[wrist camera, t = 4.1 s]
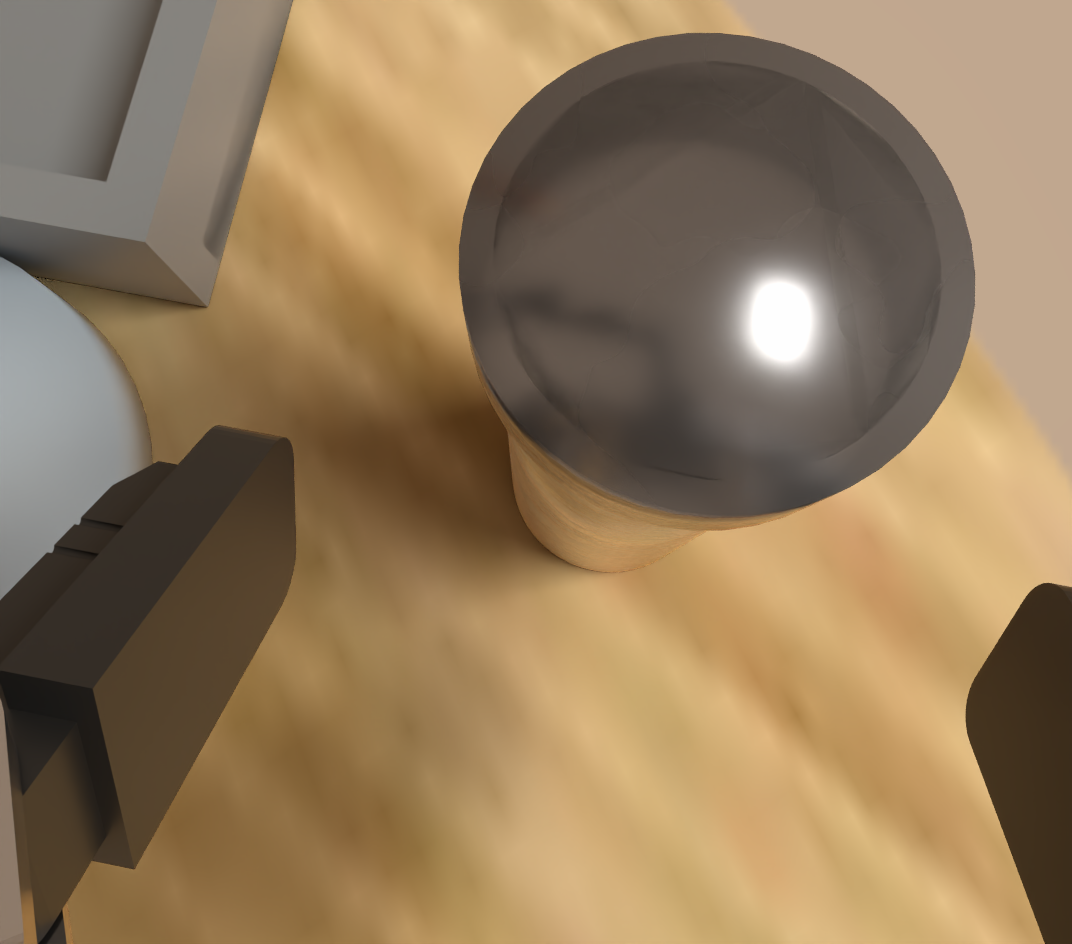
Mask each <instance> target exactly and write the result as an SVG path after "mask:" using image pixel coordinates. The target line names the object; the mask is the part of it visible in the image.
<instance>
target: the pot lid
mask: <svg viewBox="0 0 1072 944" xmlns="http://www.w3.org/2000/svg"><path fill="white" fill-rule="evenodd" d="M152 464H153V463H152V446H151V439H150V434H149V429H148V424H147V419H146V414H145V411H144V408H143V405H142V402H141V400H140V397H139V394H138V391H137V388H136V385H135V384H134V382H133V380H132V378H131V376H130V374H129V372H128V370H127V368H126V366H125V365H124V363H123V361H122V359H121V358H120V356H119V355H118V354H117V352H116V351H115V349H114V348H113V347H112V345H111V344H110V343H109V341H108V340H107V338H106V337H105V336H104V335H103V334H102V333H101V332H100V331H99V330H98V329H97V328H96V327H95V326H94V325H93V324H92V323H91V322H90V321H89V320H88V318H87V317H86V316H84V315H83V314H82V313H81V312H79V311H78V310H77V309H75V308H74V307H73V306H71V305H70V304H69V303H67V302H66V301H65V300H64V299H62V298H61V297H60V296H58V295H57V294H55V293H54V292H53V291H51V290H50V289H49V288H47V287H46V286H44V285H43V284H42V283H40V282H39V281H38V280H36V279H35V278H34V277H32V276H31V275H29V274H28V273H27V272H25V271H24V270H23V269H21V268H20V267H18V266H16V265H14V264H13V263H11V262H9V261H7V260H5V259H4V258H2V257H0V600H1V599H2V598H3V597H4V596H5V595H6V594H7V593H8V592H9V591H10V590H11V589H12V588H13V587H14V585H15V584H16V583H17V582H18V581H19V580H20V579H21V578H22V577H23V576H24V575H25V574H26V573H27V572H28V571H29V570H30V569H31V568H32V567H33V566H34V565H35V564H36V563H37V562H38V561H39V560H40V559H41V558H42V557H43V556H44V555H45V554H46V553H47V552H49V553H52V552H53V550H54V544H55V543H56V542H57V541H58V540H59V539H60V538H61V537H62V536H63V535H64V534H65V533H66V532H67V531H68V530H69V529H70V528H71V527H72V526H73V525H74V524H76V525H79V524H80V521H81V517H82V516H83V515H84V514H85V513H86V512H87V511H88V510H89V509H90V508H91V507H92V506H93V505H94V504H95V502H96V501H97V500H98V499H99V498H100V497H101V496H102V495H103V494H104V493H105V492H106V491H107V490H108V489H109V488H110V487H111V486H112V485H114V484H116V483H118V482H119V481H121V480H123V479H125V478H127V477H129V476H131V475H133V474H135V473H137V472H139V471H141V470H143V469H144V468H146V467H148V466H150V465H152Z"/></svg>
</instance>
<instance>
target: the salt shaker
mask: <svg viewBox="0 0 1072 944" xmlns="http://www.w3.org/2000/svg"><path fill="white" fill-rule="evenodd" d="M459 282H460V289H461V296H462V304H463V311H464V316H465V321H466V326H467V331H468V336H469V341H470V347H471V351H472V354H473V358H474V361H475V365H476V368H477V372H478V376H479V378H480V380H481V383H482V385H483V387H484V390H485V392H486V394H487V397H488V399H489V401H490V403H491V405H492V407H493V408H494V410H495V412H496V413H497V415H498V417H499V418H500V420H501V422H502V423H503V425H504V427H505V428H506V430H507V431H508V440H509V451H510V461H511V472H512V482H513V489H514V495H515V499H516V502H517V506H518V509H519V511H520V513H521V516H522V518H523V520H524V521H525V523H526V525H527V526H528V528H529V530H530V531H531V532H532V533H533V535H534V536H535V537H536V538H537V540H538V541H539V542H540V543H541V544H542V545H543V546H545V547H546V548H547V549H548V550H549V551H551V552H552V553H553V554H555V555H556V556H557V557H559V558H561V559H563V560H565V561H566V562H568V563H571V564H573V565H576V566H578V567H581V568H585V569H588V570H592V571H600V572H623V571H630V570H634V569H638V568H641V567H645V566H647V565H649V564H652V563H654V562H656V561H658V560H659V559H661V558H663V557H664V556H666V555H668V554H669V553H671V552H673V551H674V550H676V549H678V548H679V547H681V546H683V545H684V544H686V543H688V542H689V541H691V540H693V539H694V538H696V537H698V536H700V535H701V534H703V533H705V532H706V531H708V530H729V529H736V528H742V527H749V526H755V525H759V524H762V523H766V522H769V521H773V520H776V519H780V518H783V517H786V516H788V515H790V514H793V513H795V512H797V511H799V510H802V509H804V508H806V507H809V506H811V505H813V504H815V503H817V502H819V501H822V500H824V499H826V498H828V497H830V496H832V495H834V494H836V493H839V492H841V491H843V490H845V489H847V488H849V487H851V486H853V485H854V484H856V483H858V482H859V481H861V480H863V479H864V478H866V477H867V476H869V475H871V474H872V473H874V472H876V471H877V470H879V469H880V468H882V467H883V466H884V465H885V464H886V463H888V462H889V461H890V460H891V459H892V458H894V457H895V456H896V455H897V454H898V453H900V452H901V451H902V450H903V449H905V448H906V447H907V446H908V444H909V443H910V442H911V441H912V440H913V439H914V438H915V437H916V436H917V435H918V433H919V432H920V431H921V430H922V429H923V428H924V427H925V426H926V425H927V424H928V422H929V421H930V419H931V418H932V416H933V415H934V413H935V412H936V410H937V409H938V407H939V406H940V404H941V403H942V401H943V400H944V398H945V397H946V395H947V393H948V391H949V389H950V387H951V385H952V383H953V381H954V379H955V376H956V374H957V372H958V370H959V368H960V366H961V362H962V359H963V356H964V353H965V350H966V346H967V343H968V340H969V337H970V331H971V324H972V318H973V312H974V305H975V270H974V261H973V252H972V244H971V239H970V236H969V232H968V228H967V224H966V221H965V217H964V213H963V210H962V208H961V205H960V203H959V201H958V198H957V195H956V193H955V191H954V188H953V186H952V183H951V181H950V180H949V178H948V176H947V174H946V173H945V171H944V169H943V167H942V166H941V164H940V162H939V160H938V159H937V157H936V155H935V154H934V152H933V151H932V150H931V148H930V147H929V146H928V144H927V143H926V142H925V140H924V139H923V138H922V136H921V135H920V134H919V133H918V131H917V130H916V129H915V128H914V127H913V126H912V124H910V122H908V121H907V119H906V118H905V117H904V116H903V115H902V114H901V113H900V112H899V111H898V110H897V109H896V108H895V107H894V106H893V105H892V104H891V103H889V102H888V101H887V100H886V99H885V98H883V97H882V96H880V95H879V94H878V93H877V92H876V91H874V90H873V89H872V88H871V87H870V86H868V85H867V84H865V83H864V82H862V81H861V80H859V79H857V78H856V77H854V76H853V75H851V74H850V73H848V72H846V71H845V70H843V69H842V68H840V67H838V66H836V65H834V64H831V63H829V62H827V61H825V60H823V59H821V58H819V57H817V56H815V55H813V54H810V53H807V52H804V51H801V50H799V49H796V48H793V47H790V46H787V45H785V44H781V43H776V42H772V41H768V40H764V39H759V38H755V37H750V36H741V35H732V34H723V33H686V34H678V35H670V36H662V37H655V38H651V39H647V40H643V41H639V42H634V43H630V44H626V45H623V46H621V47H618V48H615V49H613V50H610V51H607V52H605V53H602V54H600V55H597V56H595V57H593V58H591V59H589V60H587V61H585V62H583V63H582V64H580V65H578V66H576V67H574V68H572V69H570V70H568V71H567V72H566V73H564V74H563V75H561V76H560V77H558V78H557V79H556V80H554V81H553V82H551V83H550V84H548V85H547V86H546V87H544V88H543V89H542V90H541V91H540V92H539V93H537V94H536V95H535V96H534V97H533V98H532V99H531V100H530V101H529V102H528V103H527V104H525V105H524V106H523V107H522V108H521V109H520V110H519V112H518V113H517V114H516V115H515V116H514V118H513V119H512V120H511V121H510V122H509V123H508V125H507V126H506V127H505V128H504V129H503V131H502V132H501V133H500V135H499V137H498V138H497V140H496V141H495V143H494V144H493V146H492V148H491V149H490V151H489V152H488V154H487V156H486V157H485V159H484V161H483V163H482V166H481V168H480V170H479V172H478V175H477V177H476V179H475V181H474V183H473V186H472V189H471V192H470V196H469V199H468V202H467V206H466V209H465V213H464V217H463V224H462V230H461V237H460V244H459Z"/></svg>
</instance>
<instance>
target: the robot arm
mask: <svg viewBox="0 0 1072 944" xmlns="http://www.w3.org/2000/svg"><path fill="white" fill-rule="evenodd" d="M295 558H296V524H295V488H294V457H293V449H292V445H291V443H290V441H289V440H288V439H287V438H285V437H279V436H274V435H269V434H263V433H258V432H253V431H248V430H242V429H237V428H232V427H226V426H221V425H218V426H214V427H213V428H211V429H210V430H209V431H208V432H207V433H206V434H205V435H204V437H203V438H202V439H201V440H200V441H199V442H198V443H197V444H196V446H195V447H194V448H193V449H192V450H191V451H190V452H189V453H188V454H187V456H186V457H185V458H184V459H183V460H182V461H181V462H180V463H179V465H175V464H170V463H165V462H159V461H158V462H156V463H154V464H152V465H150V466H148V467H146V468H144V469H143V470H141V471H139V472H137V473H135V474H133V475H131V476H129V477H127V478H125V479H123V480H121V481H119V482H118V483H116V484H114V485H112V486H111V487H110V488H109V489H108V490H107V491H106V492H105V493H104V494H103V495H102V496H101V497H100V498H99V499H98V500H97V501H96V502H95V504H94V505H93V506H92V507H91V508H90V509H89V510H88V511H87V512H86V513H85V514H84V515H83V516H82V517H81V521H80V524H79V525H76V524H74V525H73V526H72V527H71V528H70V529H69V530H68V531H67V532H66V533H65V534H64V535H63V536H62V537H61V538H60V539H59V540H58V541H57V542H56V543H55V544H54V550H53V552H52V553H49V552H47V553H46V554H45V555H44V556H43V557H42V558H41V559H40V560H39V561H38V562H37V563H36V564H35V565H34V566H33V567H32V568H31V569H30V570H29V571H28V572H27V573H26V574H25V575H24V576H23V577H22V578H21V579H20V580H19V581H18V582H17V583H16V584H15V585H14V587H13V588H12V589H11V590H10V591H9V592H8V593H7V594H6V595H5V596H4V597H3V598H2V599H1V600H0V944H73V939H72V932H71V924H70V916H69V910H68V906H67V900H68V899H69V897H70V896H71V894H72V892H73V891H74V889H75V887H76V886H77V884H78V882H79V881H80V879H81V877H82V876H83V874H84V873H85V871H86V869H87V868H88V866H89V864H90V863H91V861H96V862H101V863H106V864H111V865H116V866H121V867H126V868H131V869H135V868H136V866H137V864H138V862H139V860H140V859H141V857H142V855H143V853H144V851H145V850H146V848H147V846H148V844H149V842H150V841H151V839H152V837H153V835H154V833H155V832H156V830H157V828H158V826H159V824H160V823H161V821H162V819H163V817H164V815H165V814H166V812H167V810H168V808H169V807H170V805H171V803H172V801H173V799H174V798H175V796H176V794H177V792H178V790H179V789H180V787H181V785H182V783H183V781H184V780H185V778H186V776H187V774H188V772H189V771H190V769H191V767H192V765H193V763H194V762H195V760H196V758H197V756H198V755H199V753H200V751H201V749H202V747H203V746H204V744H205V742H206V740H207V738H208V737H209V735H210V733H211V731H212V729H213V728H214V726H215V724H216V722H217V720H218V719H219V717H220V715H221V713H222V711H223V710H224V708H225V706H226V704H227V702H228V701H229V699H230V697H231V695H232V694H233V692H234V690H235V688H236V686H237V685H238V683H239V681H240V679H241V677H242V676H243V674H244V672H245V670H246V668H247V667H248V665H249V663H250V661H251V659H252V658H253V656H254V654H255V652H256V650H257V649H258V647H259V645H260V643H261V642H262V640H263V638H264V636H265V634H266V633H267V631H268V629H269V627H270V625H271V624H272V622H273V620H274V618H275V616H276V615H277V613H278V611H279V609H280V607H281V606H282V604H283V602H284V599H285V597H286V595H287V592H288V589H289V586H290V583H291V579H292V575H293V571H294V565H295ZM966 728H967V734H968V737H969V741H970V744H971V746H972V749H973V752H974V754H975V757H976V760H977V762H978V765H979V768H980V770H981V773H982V776H983V779H984V781H985V784H986V787H987V789H988V792H989V795H990V797H991V800H992V803H993V805H994V808H995V811H996V813H997V816H998V819H999V821H1000V824H1001V827H1002V829H1003V832H1004V835H1005V838H1006V840H1007V843H1008V846H1009V848H1010V851H1011V854H1012V856H1013V859H1014V862H1015V864H1016V867H1017V870H1018V872H1019V875H1020V878H1021V880H1022V883H1023V886H1024V889H1025V891H1026V894H1027V897H1028V899H1029V902H1030V905H1031V907H1032V910H1033V913H1034V915H1035V918H1036V921H1037V923H1038V926H1039V929H1040V931H1041V934H1042V937H1043V939H1044V942H1045V944H1072V587H1068V586H1062V585H1057V584H1052V583H1043V584H1041V585H1038V586H1037V587H1035V588H1034V589H1033V590H1032V591H1031V592H1030V593H1029V594H1028V595H1027V596H1026V598H1025V599H1024V601H1023V602H1022V604H1021V605H1020V607H1019V609H1018V610H1017V612H1016V613H1015V615H1014V617H1013V618H1012V620H1011V621H1010V623H1009V625H1008V626H1007V628H1006V629H1005V631H1004V633H1003V634H1002V636H1001V637H1000V639H999V641H998V642H997V644H996V645H995V647H994V649H993V650H992V652H991V653H990V655H989V657H988V658H987V660H986V661H985V663H984V664H983V666H982V668H981V669H980V671H979V672H978V674H977V676H976V677H975V679H974V681H973V683H972V685H971V688H970V691H969V694H968V698H967V704H966Z"/></svg>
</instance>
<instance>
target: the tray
mask: <svg viewBox="0 0 1072 944" xmlns="http://www.w3.org/2000/svg"><path fill="white" fill-rule="evenodd" d="M292 2H293V0H0V257H2V258H4V259H5V260H7V261H9V262H11V263H13V264H14V265H16V266H18V267H20V268H21V269H23V270H24V271H25V272H27V273H28V274H29V275H32V276H38V277H43V278H49V279H54V280H60V281H65V282H71V283H76V284H82V285H88V286H93V287H99V288H104V289H110V290H115V291H121V292H126V293H132V294H137V295H143V296H149V297H154V298H160V299H165V300H171V301H176V302H182V303H187V304H193V305H198V306H204V307H208V305H209V301H210V298H211V294H212V291H213V287H214V283H215V280H216V276H217V273H218V269H219V265H220V262H221V258H222V255H223V251H224V247H225V244H226V240H227V237H228V233H229V229H230V226H231V222H232V219H233V215H234V211H235V208H236V204H237V200H238V197H239V193H240V190H241V186H242V182H243V179H244V175H245V172H246V168H247V164H248V161H249V157H250V154H251V150H252V146H253V143H254V139H255V136H256V132H257V128H258V125H259V121H260V117H261V114H262V110H263V107H264V103H265V99H266V96H267V92H268V89H269V85H270V81H271V78H272V74H273V71H274V67H275V63H276V60H277V56H278V53H279V49H280V45H281V42H282V38H283V35H284V31H285V27H286V24H287V20H288V16H289V13H290V9H291V6H292Z"/></svg>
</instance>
